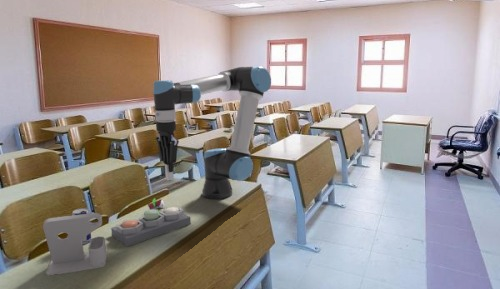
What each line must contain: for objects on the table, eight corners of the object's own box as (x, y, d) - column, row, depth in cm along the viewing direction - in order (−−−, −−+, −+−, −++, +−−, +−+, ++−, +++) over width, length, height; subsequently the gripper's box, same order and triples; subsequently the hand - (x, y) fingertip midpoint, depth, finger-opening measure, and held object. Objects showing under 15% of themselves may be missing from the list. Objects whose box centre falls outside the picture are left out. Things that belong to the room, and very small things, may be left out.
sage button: (154, 213, 144) (154, 208, 144) (161, 217, 140) (161, 211, 140) (141, 217, 140) (141, 212, 140) (148, 222, 136) (148, 216, 136)
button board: (173, 215, 155) (172, 204, 154) (190, 223, 146) (190, 212, 145) (111, 235, 137) (110, 222, 136) (127, 246, 127) (126, 233, 126)
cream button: (174, 211, 151) (173, 206, 150) (181, 215, 147) (181, 209, 146) (162, 215, 147) (161, 209, 146) (169, 219, 143) (169, 213, 142)
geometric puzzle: (142, 211, 154) (152, 197, 153) (147, 205, 161) (156, 191, 160) (156, 220, 155) (166, 206, 154) (160, 214, 162) (170, 201, 160)
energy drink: (83, 245, 129) (80, 214, 126) (72, 243, 130) (68, 212, 128) (94, 239, 133) (91, 208, 131) (83, 237, 135) (80, 207, 133)
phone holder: (108, 252, 124) (103, 202, 120) (106, 266, 114) (100, 213, 111) (52, 260, 119) (45, 209, 115) (45, 277, 109) (37, 221, 106)
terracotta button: (133, 224, 138) (133, 218, 138) (140, 228, 134) (140, 222, 134) (119, 228, 135) (119, 222, 134) (126, 233, 131) (125, 227, 130)
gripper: (148, 120, 141) (153, 178, 146) (166, 123, 132) (170, 184, 137) (165, 118, 146) (169, 174, 151) (183, 121, 137) (186, 180, 142)
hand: (169, 179), depth 144 cm, fingers closed
